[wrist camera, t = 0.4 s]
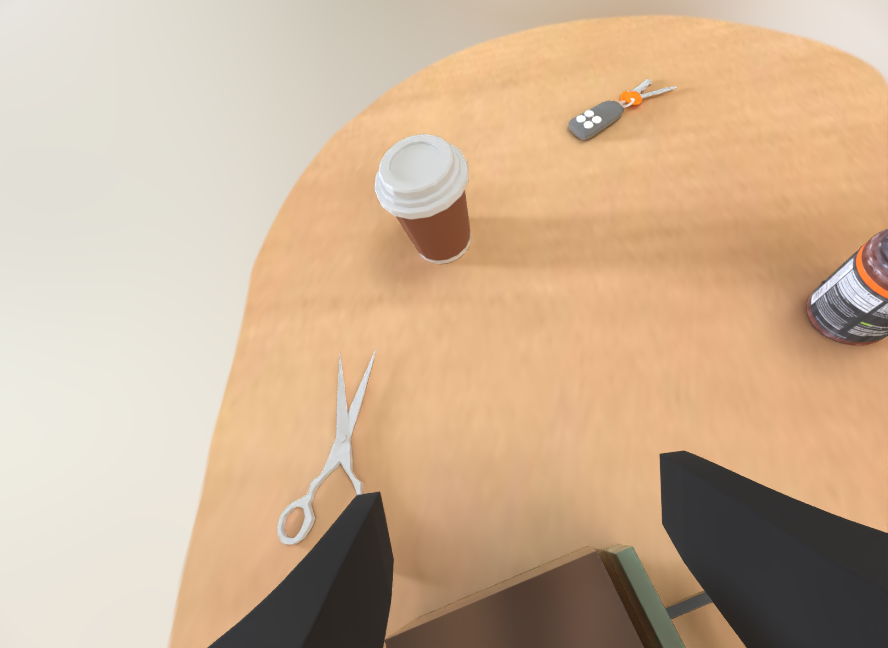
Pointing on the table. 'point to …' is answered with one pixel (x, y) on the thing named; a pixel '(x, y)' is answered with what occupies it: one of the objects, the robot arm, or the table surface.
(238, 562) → the table surface
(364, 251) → the table surface
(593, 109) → the key chain
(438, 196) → the coffee cup
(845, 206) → the table surface
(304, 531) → the scissors
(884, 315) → the supplement bottle
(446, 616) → the cabinet
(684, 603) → the drawer
